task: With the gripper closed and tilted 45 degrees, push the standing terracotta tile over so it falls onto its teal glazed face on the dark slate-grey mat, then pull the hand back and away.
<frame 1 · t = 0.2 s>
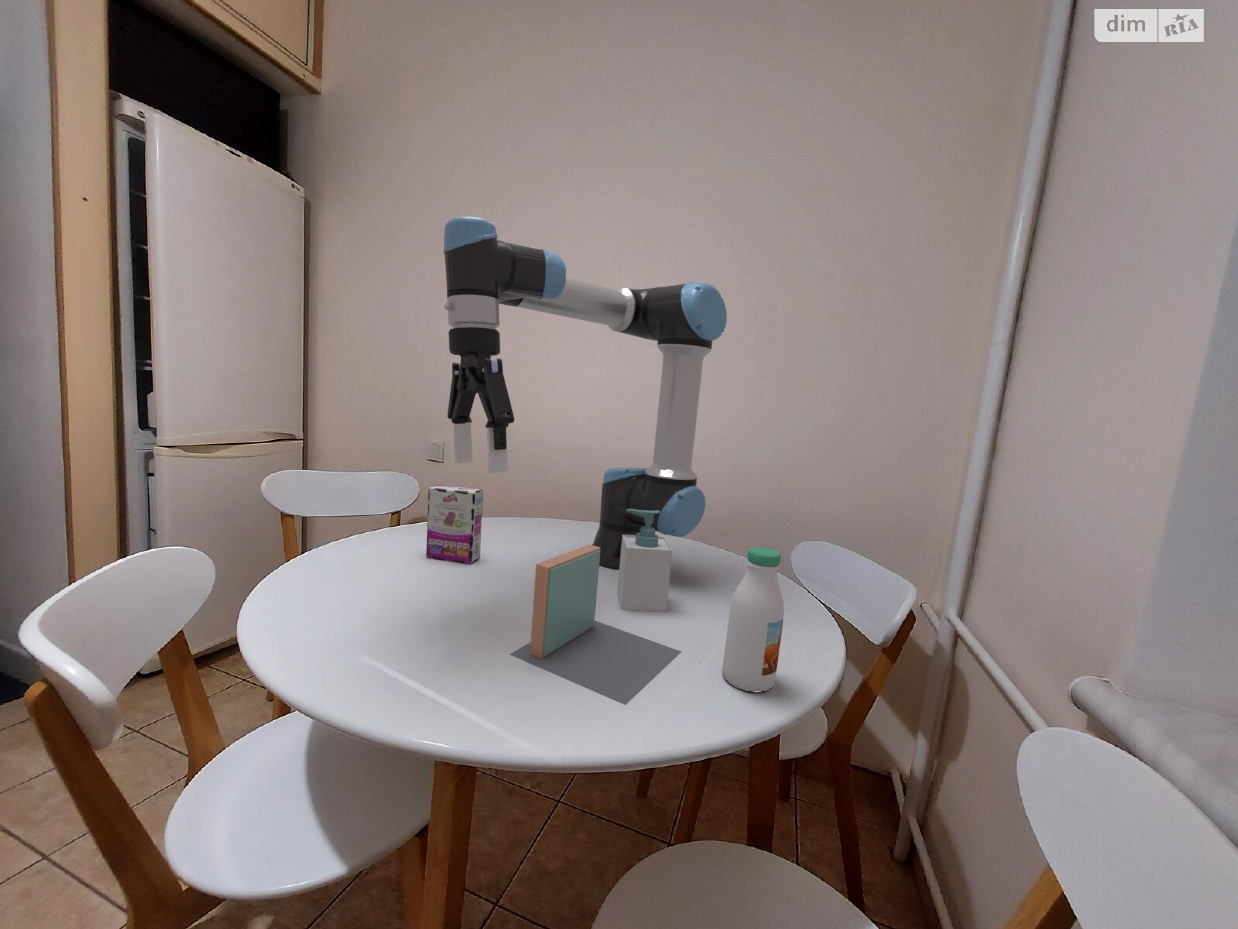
hand: (479, 467, 81), 27 cm above the table, tool pointing down, fingers open, 13 cm apart
tile: (564, 639, 83), point 1 cm above the table, touching mat
soap bottle: (639, 606, 101), on the table
candy bar box: (453, 559, 118), on the table
milk bottle: (747, 680, 77), on the table
mat: (598, 657, 79), on the table
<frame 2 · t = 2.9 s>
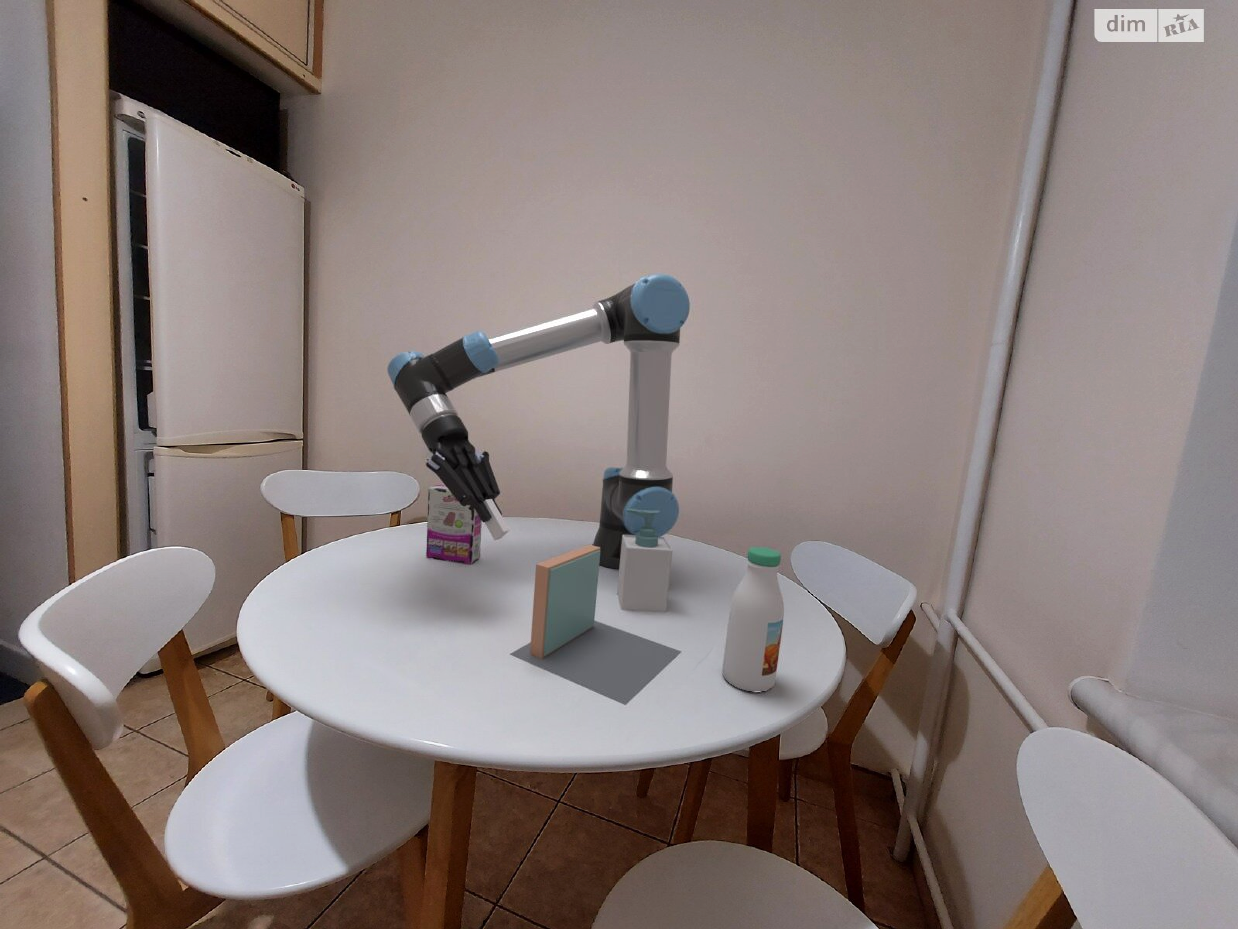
hand: (502, 535, 87), 15 cm above the table, tool tilted 45°, fingers closed
nothing on the table moved.
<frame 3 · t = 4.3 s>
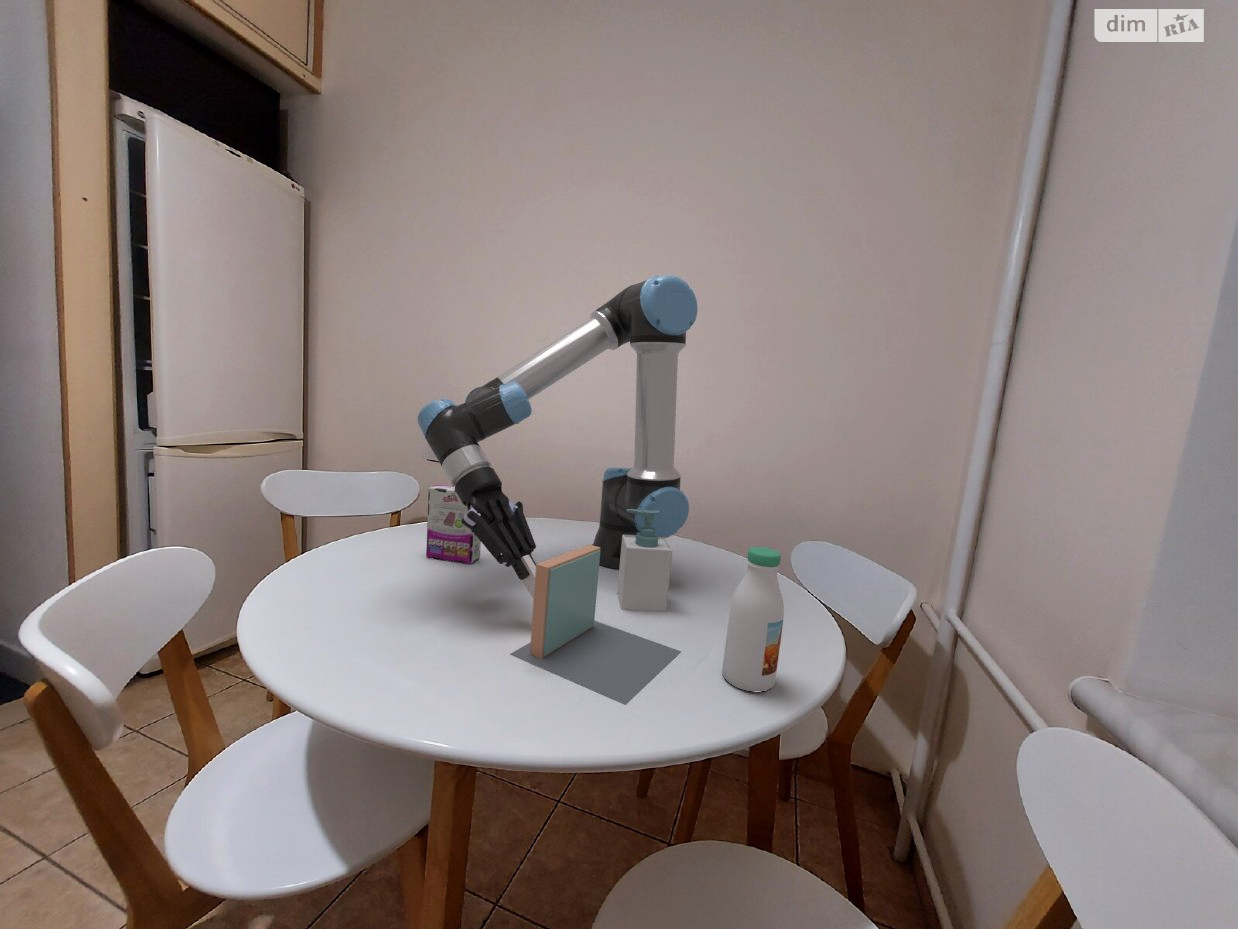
hand: (540, 593, 85), 7 cm above the table, tool tilted 45°, fingers closed
nothing on the table moved.
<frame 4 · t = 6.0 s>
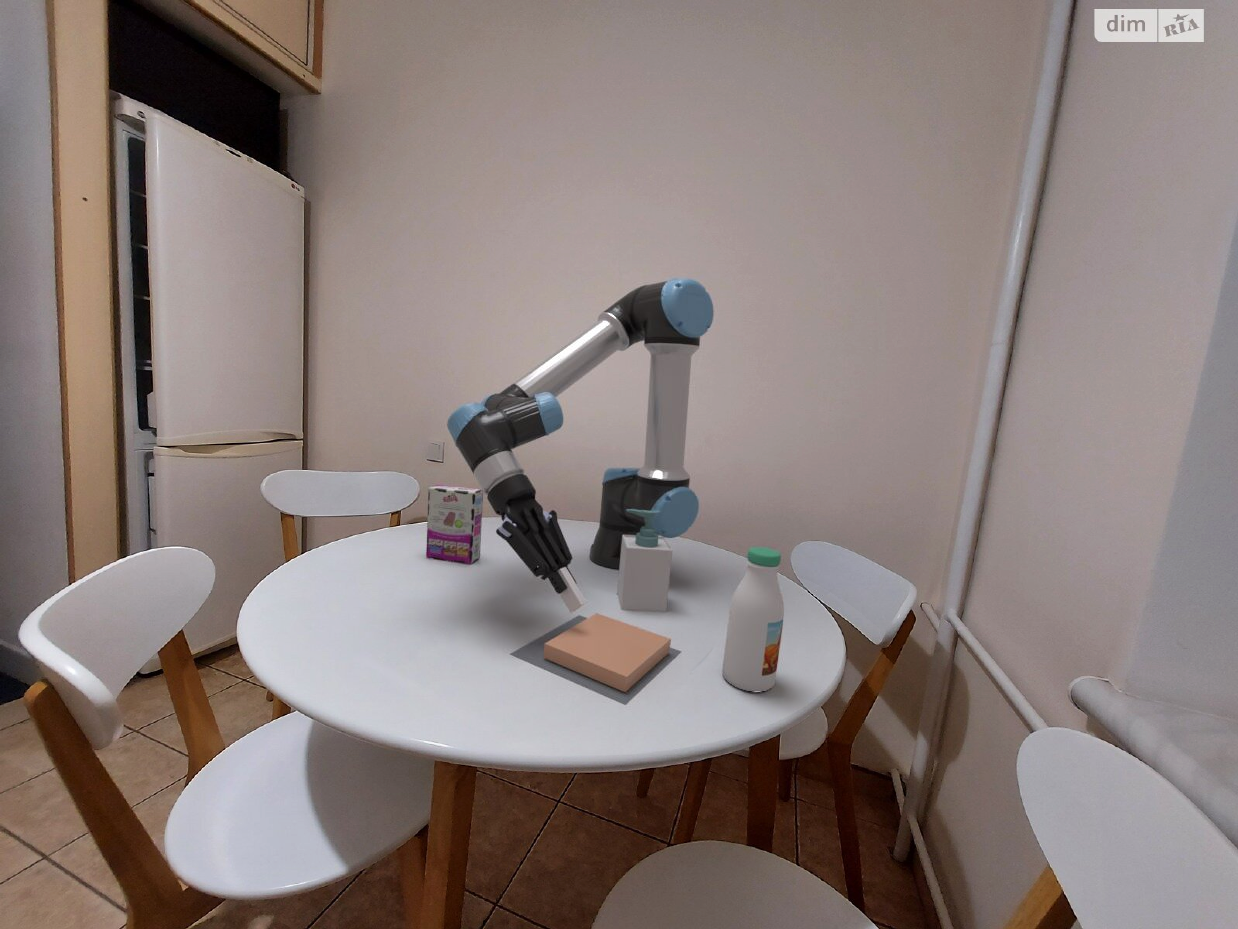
hand: (578, 607, 80), 7 cm above the table, tool tilted 45°, fingers closed
tile: (571, 634, 82), point 2 cm above the table, tilted 90°, touching mat
everything else where it was.
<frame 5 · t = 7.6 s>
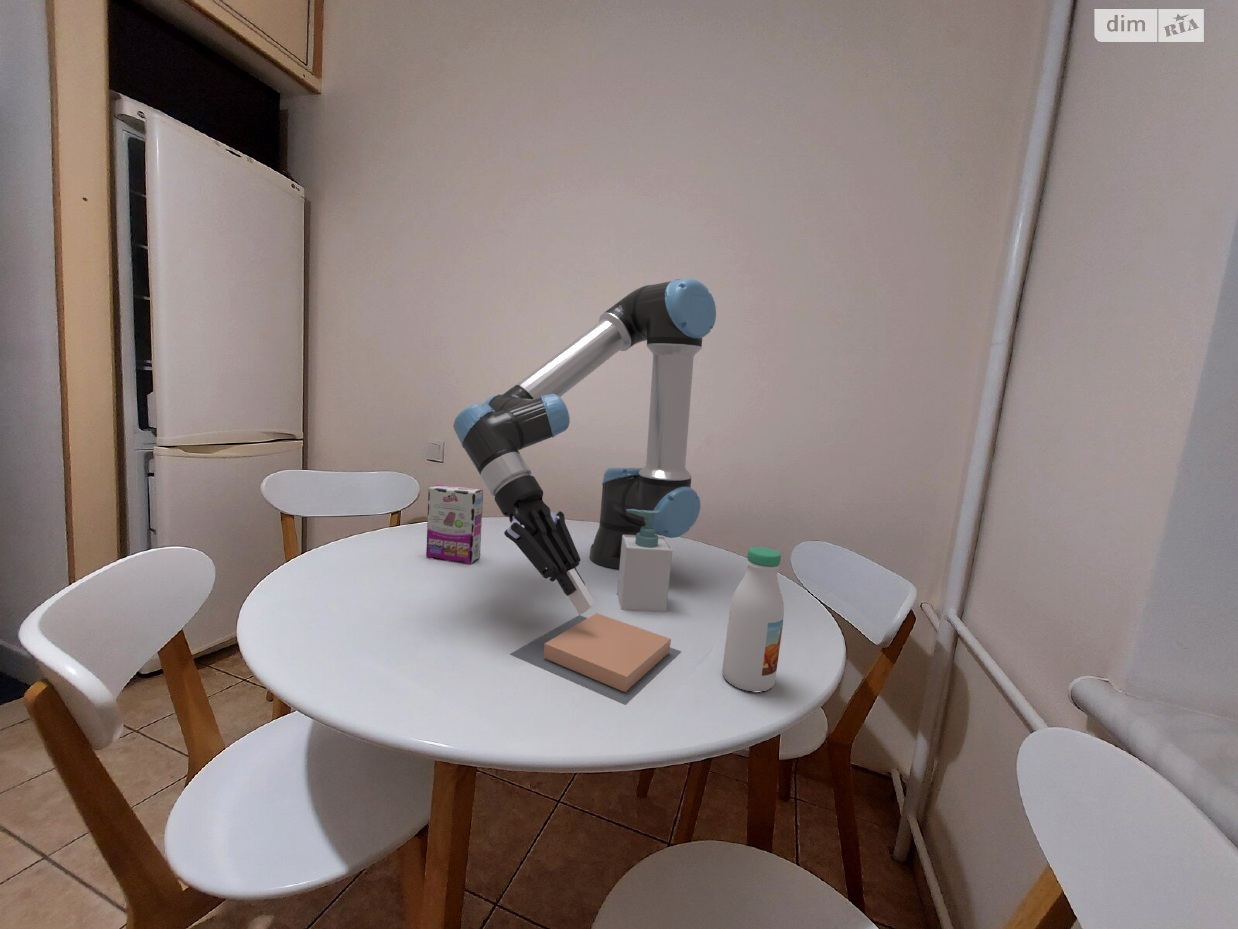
hand: (587, 609, 80), 7 cm above the table, tool tilted 45°, fingers closed
nothing on the table moved.
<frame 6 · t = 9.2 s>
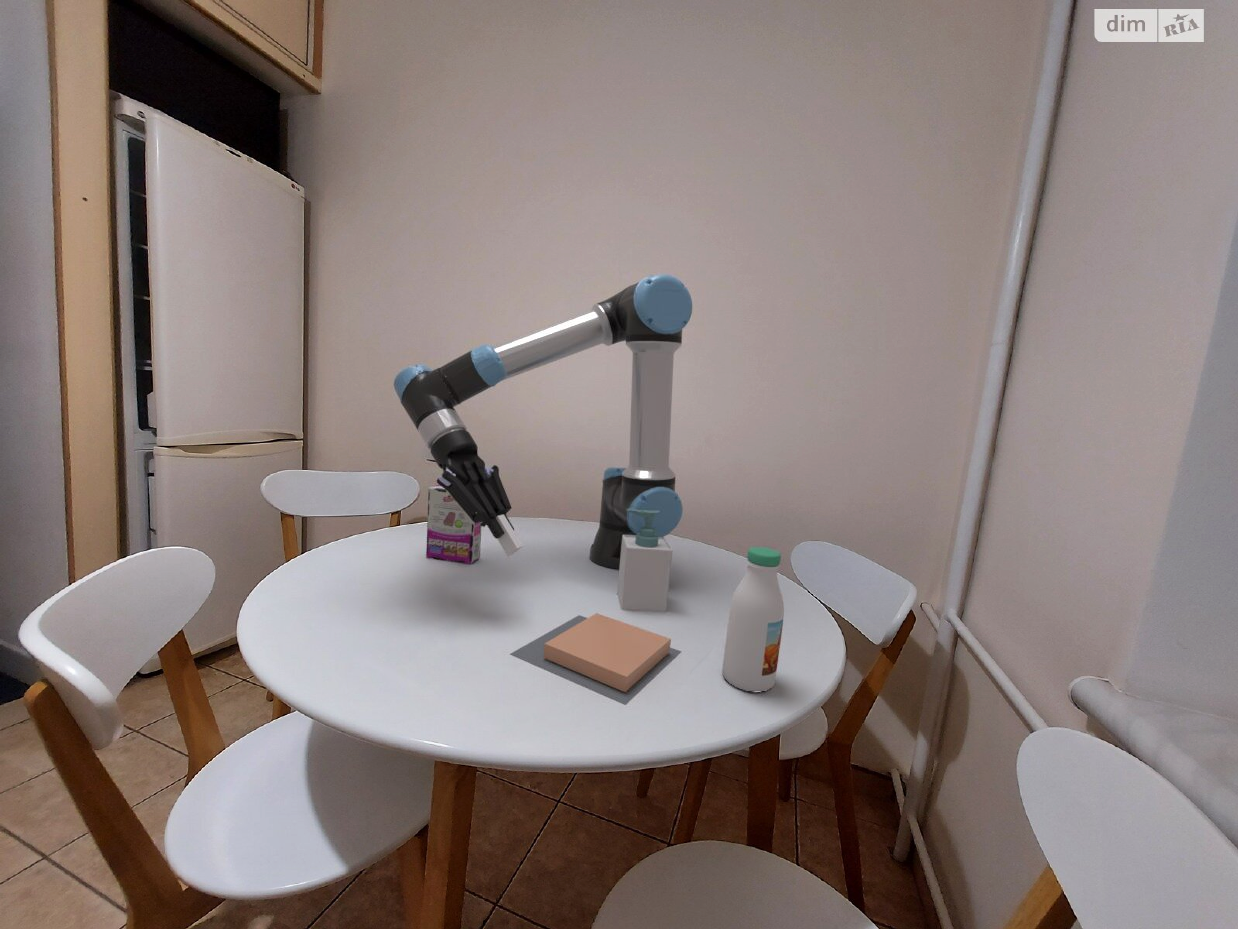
hand: (515, 551, 86), 13 cm above the table, tool tilted 45°, fingers closed
nothing on the table moved.
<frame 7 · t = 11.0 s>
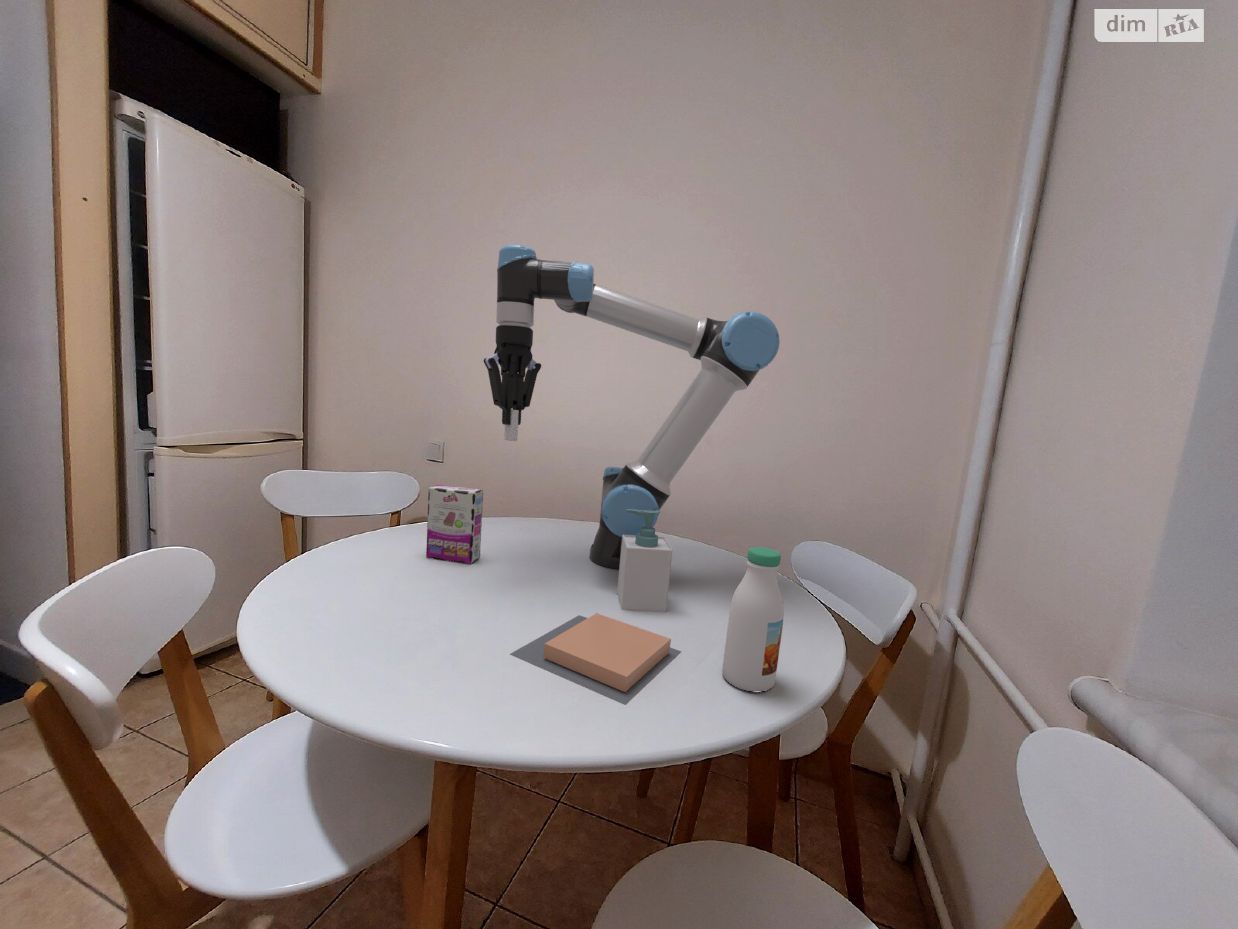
hand: (510, 440, 109), 29 cm above the table, tool pointing down, fingers closed
nothing on the table moved.
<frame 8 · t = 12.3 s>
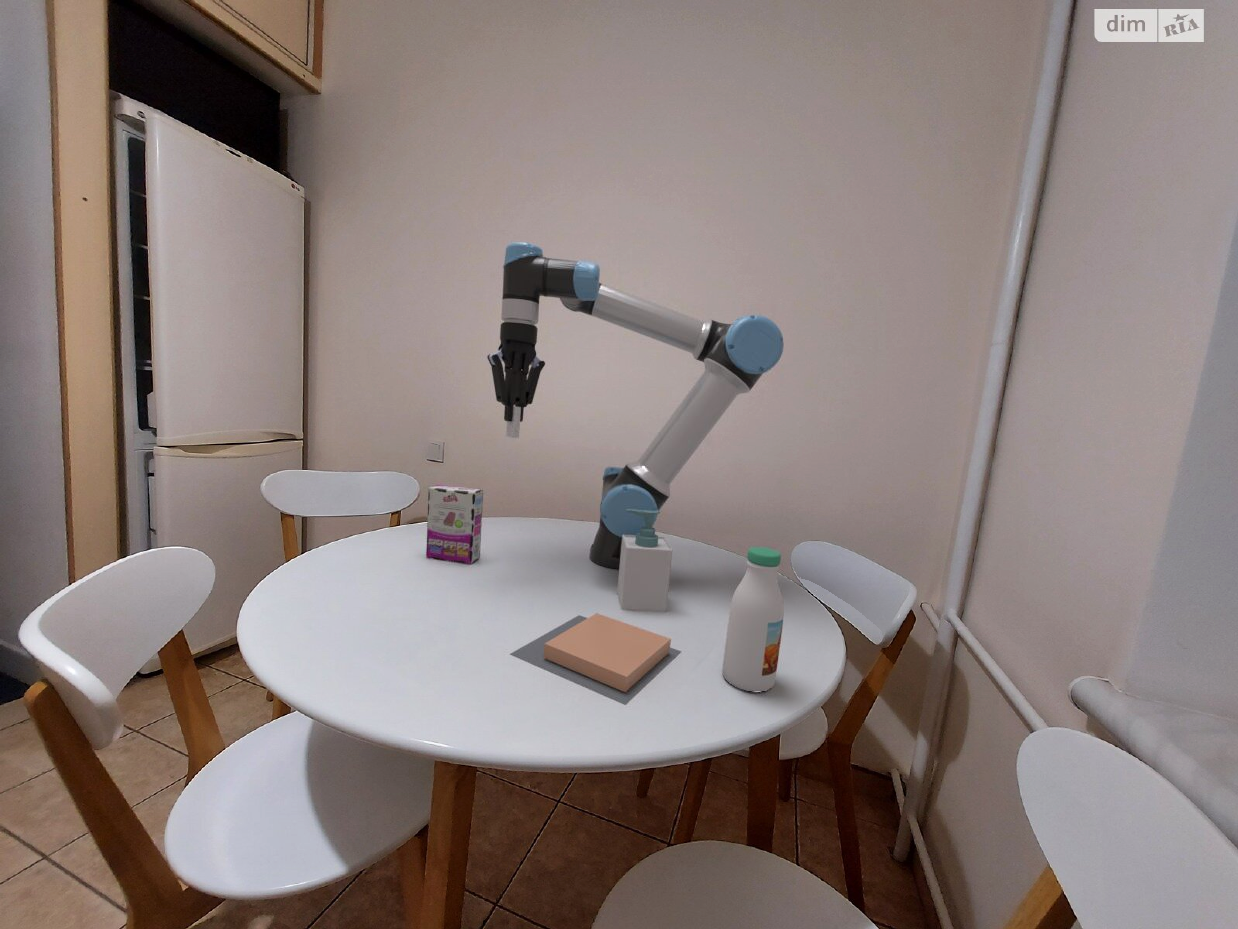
hand: (512, 436, 110), 29 cm above the table, tool pointing down, fingers closed
nothing on the table moved.
at the end: tile tilted 90°; tile inside the target area on the mat (1.3 cm from its centre), point 2.0 cm above the mat's base; the gripper is holding nothing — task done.
